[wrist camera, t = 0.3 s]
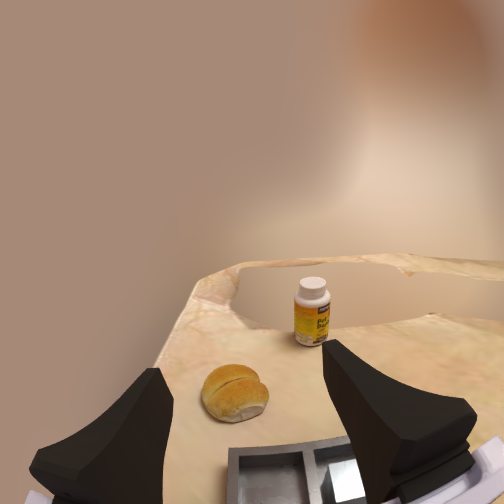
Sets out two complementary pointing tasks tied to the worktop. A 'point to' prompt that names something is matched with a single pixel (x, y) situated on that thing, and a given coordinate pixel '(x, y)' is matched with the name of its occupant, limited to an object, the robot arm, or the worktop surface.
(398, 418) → the robot arm
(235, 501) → the rack
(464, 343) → the worktop surface
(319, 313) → the supplement bottle
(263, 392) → the bread roll
